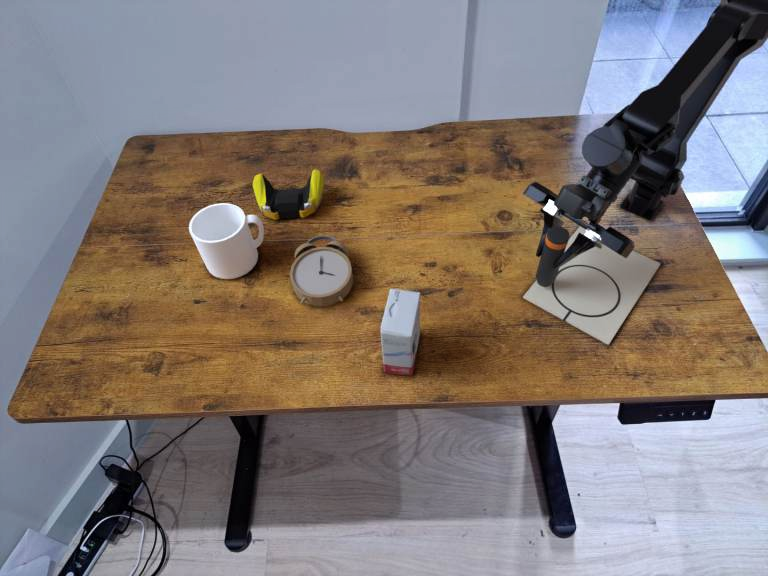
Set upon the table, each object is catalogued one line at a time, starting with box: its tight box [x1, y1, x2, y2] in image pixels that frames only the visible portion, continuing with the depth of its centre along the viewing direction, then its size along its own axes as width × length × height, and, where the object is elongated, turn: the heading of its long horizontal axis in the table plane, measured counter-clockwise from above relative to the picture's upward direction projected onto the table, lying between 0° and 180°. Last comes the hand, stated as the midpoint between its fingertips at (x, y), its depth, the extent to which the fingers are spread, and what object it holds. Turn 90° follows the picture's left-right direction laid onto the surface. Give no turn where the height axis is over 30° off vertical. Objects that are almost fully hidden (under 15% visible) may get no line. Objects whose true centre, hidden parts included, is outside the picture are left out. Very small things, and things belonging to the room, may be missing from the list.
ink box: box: [380, 288, 421, 377], centre depth 80 cm, size 9×5×12 cm, turn 168°
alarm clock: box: [289, 234, 354, 307], centre depth 94 cm, size 11×5×15 cm
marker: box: [535, 226, 571, 287], centre depth 86 cm, size 4×4×12 cm
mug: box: [188, 202, 265, 280], centre depth 95 cm, size 13×10×10 cm
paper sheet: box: [522, 226, 661, 346], centre depth 92 cm, size 22×16×1 cm
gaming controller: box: [252, 168, 326, 221], centre depth 106 cm, size 15×6×10 cm
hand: (545, 262), depth 85 cm, fingers closed on marker, 3 cm apart
